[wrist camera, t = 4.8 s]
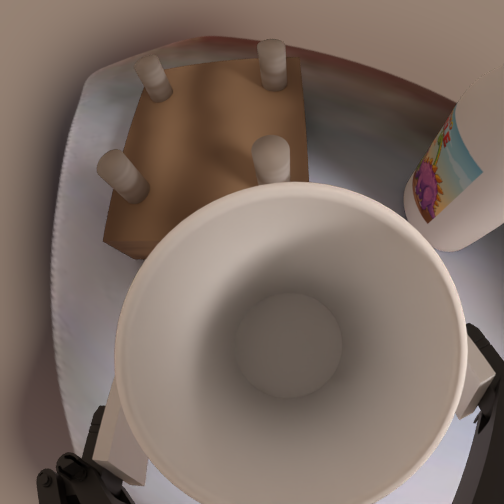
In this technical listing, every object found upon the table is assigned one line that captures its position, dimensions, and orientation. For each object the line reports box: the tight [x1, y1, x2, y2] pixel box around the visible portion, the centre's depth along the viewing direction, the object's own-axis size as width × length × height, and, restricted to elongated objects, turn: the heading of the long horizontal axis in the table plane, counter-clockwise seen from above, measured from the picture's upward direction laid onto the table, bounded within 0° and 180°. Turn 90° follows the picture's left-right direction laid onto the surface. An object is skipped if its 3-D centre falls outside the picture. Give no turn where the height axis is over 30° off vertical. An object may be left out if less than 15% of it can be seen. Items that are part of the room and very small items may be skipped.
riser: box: [97, 39, 309, 259], centre depth 21 cm, size 14×17×9 cm
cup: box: [114, 182, 468, 504], centre depth 13 cm, size 8×8×16 cm
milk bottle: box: [403, 65, 504, 252], centre depth 13 cm, size 8×8×20 cm
